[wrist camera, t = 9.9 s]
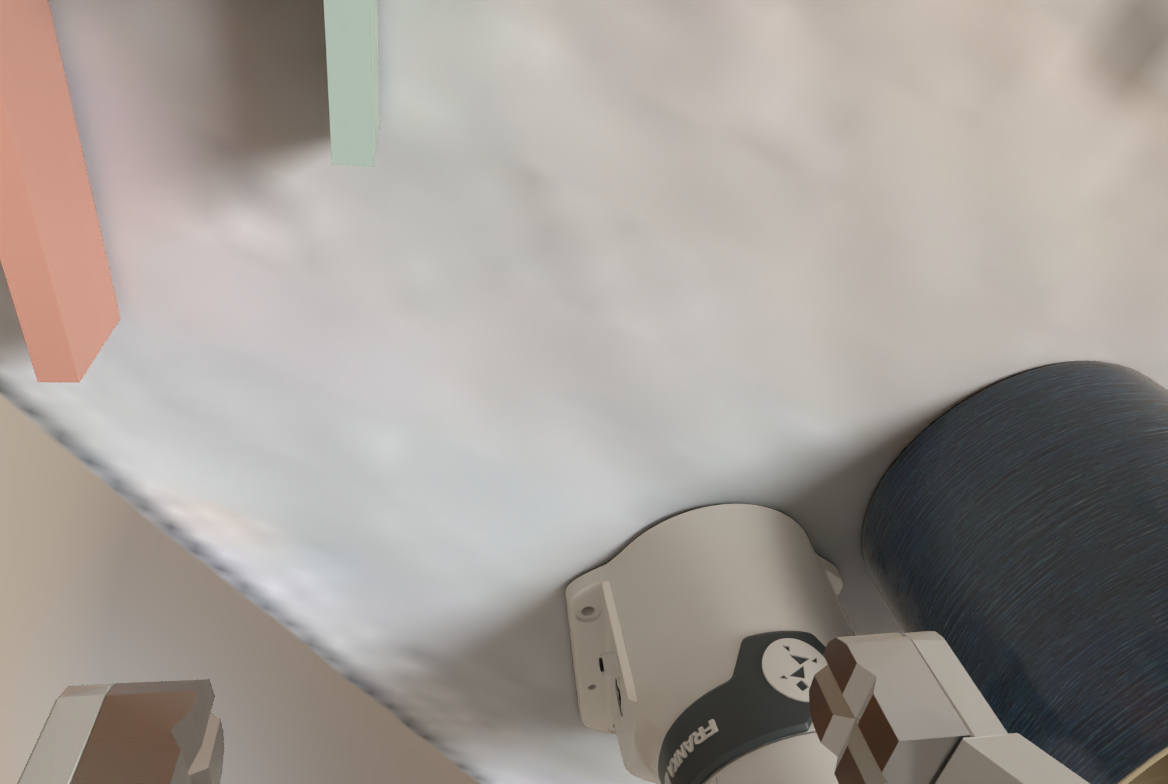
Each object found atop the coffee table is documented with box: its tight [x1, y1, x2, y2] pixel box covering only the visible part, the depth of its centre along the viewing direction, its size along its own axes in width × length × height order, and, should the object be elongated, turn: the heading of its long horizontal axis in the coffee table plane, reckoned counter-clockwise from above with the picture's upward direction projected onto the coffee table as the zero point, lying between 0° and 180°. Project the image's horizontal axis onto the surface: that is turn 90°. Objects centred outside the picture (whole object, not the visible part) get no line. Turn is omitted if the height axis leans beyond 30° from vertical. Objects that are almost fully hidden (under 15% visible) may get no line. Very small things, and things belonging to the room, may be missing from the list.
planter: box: [862, 361, 1168, 784], centre depth 43 cm, size 22×22×20 cm
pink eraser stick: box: [0, 0, 120, 382], centre depth 27 cm, size 14×1×5 cm, turn 173°
